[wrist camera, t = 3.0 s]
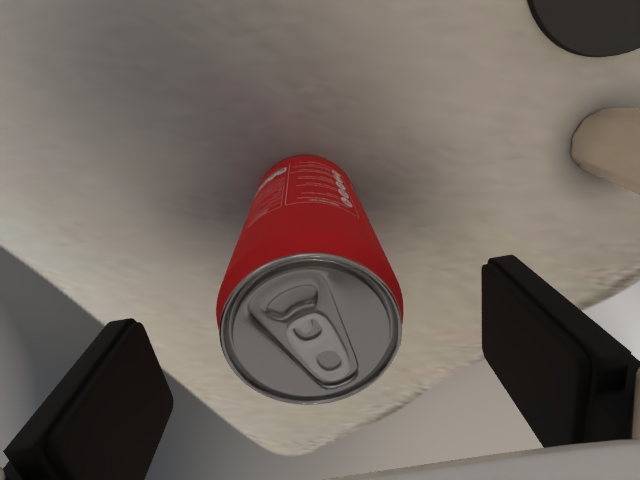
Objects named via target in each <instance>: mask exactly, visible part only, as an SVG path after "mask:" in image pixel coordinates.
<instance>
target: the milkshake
mask: <svg viewBox="0 0 640 480" xmlns="http://www.w3.org/2000/svg"><path fill="white" fill-rule="evenodd" d="M571 156H572V157H573V158H574V160H575V161H576V162H577V163H578V165H579V166H580V167H581V168H582V169H584V170H586V171H588V172H590V173H592V174H595V175H597V176H599V177H601V178H603V179H606V180H608V181H610V182H612V183H614V184H616V185H619V186H621V187H623V188H625V189H627V190H630V191H632V192H634V193H636V194H638V195H640V108H604V109H602V110H600V111H598V112H596V113H594V114H592V115H590V116H589V117H587V118H585V119H584V120H583V122H582V123H581V125H580V126H579V128H578V129H577V131H576V132H575V134H574V135H573V136H572V151H571Z"/></svg>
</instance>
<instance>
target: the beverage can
mask: <svg viewBox="0 0 640 480" xmlns="http://www.w3.org/2000/svg"><path fill="white" fill-rule="evenodd" d="M216 316H217V324H218V329H219V335H220V343H221V347H222V350H223V353H224V356H225V358H226V360H227V362H228V364H229V365H230V367H231V368H232V370H233V371H234V372H235V374H236V375H237V376H238V377H239V378H240V379H241V380H242V381H243V382H244V383H246V384H247V385H248V386H249V387H251V388H252V389H254V390H255V391H257V392H259V393H261V394H263V395H265V396H267V397H270V398H272V399H275V400H278V401H282V402H287V403H292V404H302V405H315V404H324V403H330V402H335V401H338V400H342V399H345V398H347V397H350V396H352V395H354V394H356V393H358V392H360V391H362V390H364V389H365V388H367V387H368V386H370V385H371V384H372V383H374V382H375V381H376V380H377V379H378V378H379V377H380V376H381V375H382V374H383V373H384V372H385V371H386V370H387V368H388V367H389V365H390V364H391V362H392V361H393V359H394V357H395V355H396V353H397V351H398V349H399V347H400V344H401V338H402V323H403V299H402V293H401V289H400V286H399V283H398V281H397V279H396V276H395V274H394V272H393V270H392V268H391V266H390V264H389V262H388V260H387V257H386V255H385V253H384V251H383V249H382V247H381V245H380V243H379V241H378V239H377V236H376V234H375V232H374V230H373V228H372V226H371V224H370V222H369V220H368V218H367V215H366V213H365V211H364V209H363V207H362V205H361V203H360V201H359V199H358V197H357V194H356V192H355V190H354V188H353V186H352V184H351V182H350V180H349V178H348V177H347V176H346V174H345V173H344V172H343V171H342V170H341V169H340V168H339V167H338V166H336V165H335V164H334V163H332V162H330V161H328V160H326V159H324V158H321V157H317V156H310V155H301V156H295V157H291V158H288V159H285V160H283V161H281V162H279V163H278V164H276V165H275V166H273V167H272V168H271V169H270V170H269V171H268V172H267V173H266V174H265V176H264V177H263V179H262V180H261V182H260V184H259V187H258V189H257V192H256V195H255V197H254V200H253V203H252V205H251V208H250V211H249V213H248V216H247V219H246V221H245V224H244V227H243V229H242V232H241V234H240V237H239V240H238V242H237V245H236V248H235V250H234V253H233V256H232V258H231V261H230V264H229V266H228V269H227V272H226V274H225V277H224V280H223V282H222V285H221V288H220V291H219V294H218V299H217V307H216Z"/></svg>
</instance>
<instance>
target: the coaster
mask: <svg viewBox="0 0 640 480" xmlns="http://www.w3.org/2000/svg"><path fill="white" fill-rule="evenodd" d="M528 2H529V6H530V8H531V11H532V13H533V16H534V18H535V20H536V21H537V23H538V25H539V26H540V28H541V29H542V30H543V32H544V33H545V34H546V35H547V36H548V37H549V38H550V39H551V40H552V41H553V42H554V43H556V44H557V45H558V46H560V47H562V48H564V49H565V50H567V51H570V52H572V53H575V54H578V55H583V56H590V57H605V56H614V55H619V54H623V53H627V52H630V51H633V50H635V49H638V48H640V0H528Z"/></svg>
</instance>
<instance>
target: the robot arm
mask: <svg viewBox="0 0 640 480" xmlns="http://www.w3.org/2000/svg"><path fill="white" fill-rule="evenodd" d="M482 349H483V353H484V356H485V358H486V360H487V362H488V363H489V365H490V366H491V368H492V369H493V371H494V372H495V374H496V375H497V377H498V379H499V380H500V382H501V383H502V385H503V386H504V388H505V389H506V390H507V392H508V394H509V395H510V397H511V398H512V400H513V401H514V403H515V404H516V406H517V407H518V409H519V410H520V412H521V414H522V415H523V416H524V418H525V420H526V421H527V422H528V424H529V426H530V427H531V429H532V430H533V432H534V433H535V435H536V436H537V438H538V439H539V441H540V442H541V444H542V445H543V447H544V448H540V449H533V450H524V451H517V452H509V453H501V454H493V455H487V456H480V457H473V458H466V459H459V460H452V461H446V462H439V463H432V464H425V465H418V466H411V467H404V468H398V469H391V470H384V471H377V472H370V473H364V474H357V475H351V476H344V477H337V478H331V479H325V480H640V361H639V360H637V359H636V358H635V357H634V356H633V355H631V352H630V351H629V350H628V349H627V348H626V347H624V346H623V345H622V344H621V343H619V342H618V341H617V340H616V339H615V338H613V337H612V336H611V335H610V334H609V333H607V332H606V331H605V330H603V328H601V327H600V326H599V325H598V324H597V323H595V322H594V321H593V320H592V319H590V318H589V317H588V316H587V315H586V314H584V313H583V312H582V311H581V310H580V309H578V308H577V307H576V306H575V305H573V304H572V303H571V302H570V301H569V300H567V299H566V298H565V297H564V296H563V295H561V294H560V293H559V292H558V291H556V290H555V289H554V288H553V287H552V286H550V285H549V284H548V283H547V282H546V281H544V280H543V279H542V278H541V277H539V276H538V275H537V274H536V273H535V272H533V271H532V270H531V269H530V268H529V267H527V266H526V265H525V264H524V263H523V262H521V261H520V260H519V259H518V258H516V257H515V256H514V255H507V256H501V257H495V258H490V259H489V260H488V264H486V265H483V266H482ZM172 409H173V396H172V394H171V391H170V389H169V386H168V384H167V381H166V379H165V377H164V374H163V372H162V369H161V367H160V365H159V362H158V360H157V357H156V355H155V352H154V350H153V348H152V345H151V343H150V340H149V338H148V336H147V333H146V331H145V328H144V326H143V325H142V324H141V323H140V322H136V321H135V320H134V319H132V318H130V319H124V320H118V321H112V322H109V323H108V324H107V325H106V326H105V327H104V329H103V330H102V331H101V332H100V333H99V335H98V336H97V337H96V338H95V340H94V341H93V342H92V343H91V345H90V346H89V347H88V348H87V349H86V351H85V352H84V353H83V354H82V356H81V357H80V358H79V359H78V360H77V362H76V363H75V364H74V365H73V367H72V368H71V369H70V370H69V372H68V373H67V374H66V375H65V376H64V378H63V379H62V380H61V381H60V383H59V384H58V385H57V386H56V387H55V389H54V390H53V391H52V392H51V394H50V395H49V396H48V397H47V398H46V400H45V401H44V402H43V403H42V405H41V406H40V407H39V408H38V410H37V411H36V412H35V413H34V414H33V416H32V417H31V418H30V420H29V421H28V422H27V423H26V424H25V425H24V427H23V428H22V429H21V430H20V432H19V433H18V434H17V435H16V436H15V438H14V439H13V440H12V441H11V443H10V444H9V445H8V446H7V448H6V449H5V450H4V451H3V452H4V453H5V455H6V456H7V458H8V459H9V462H8V463H7V465H6V466H5V467H4V468H3V469H2V468H1V467H0V480H144V479H145V476H146V474H147V472H148V469H149V466H150V464H151V462H152V459H153V457H154V454H155V452H156V449H157V447H158V444H159V442H160V439H161V437H162V434H163V432H164V429H165V427H166V424H167V422H168V419H169V417H170V414H171V412H172Z"/></svg>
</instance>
